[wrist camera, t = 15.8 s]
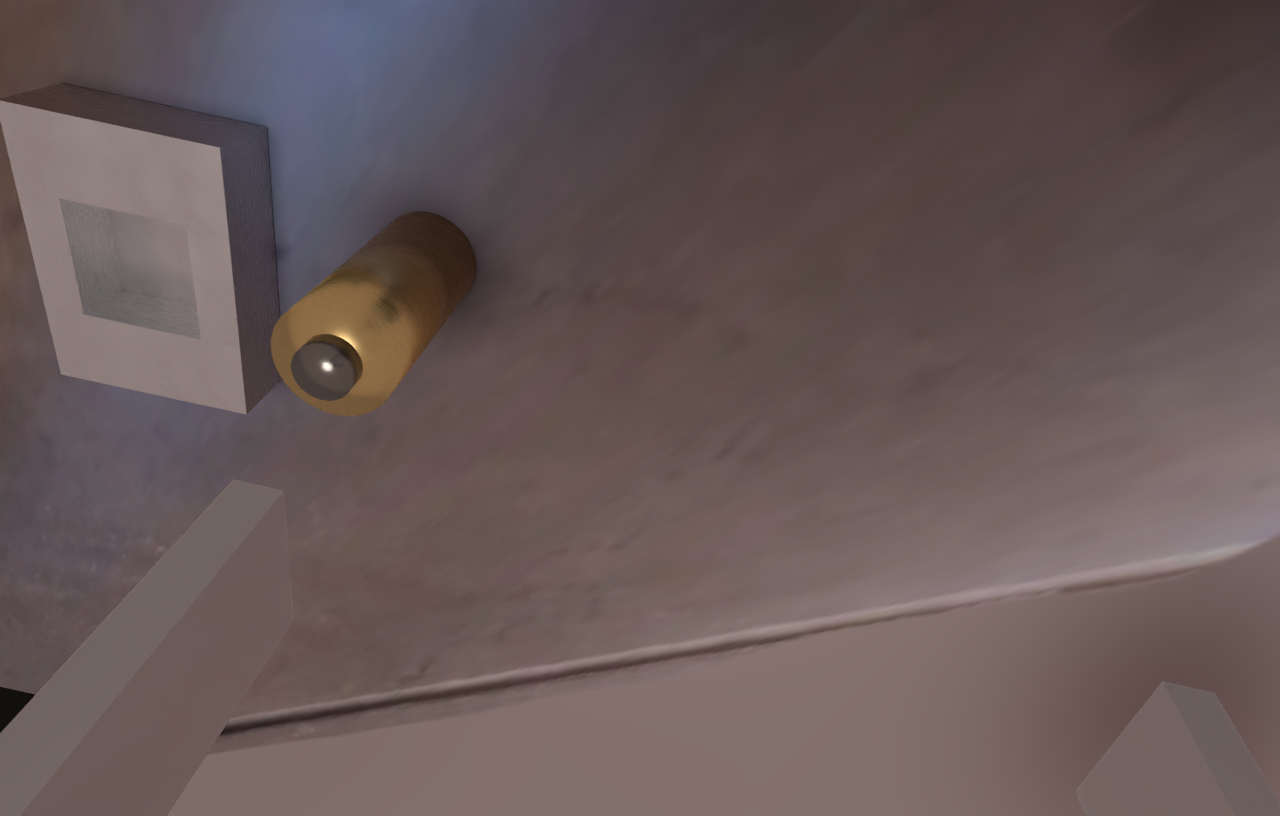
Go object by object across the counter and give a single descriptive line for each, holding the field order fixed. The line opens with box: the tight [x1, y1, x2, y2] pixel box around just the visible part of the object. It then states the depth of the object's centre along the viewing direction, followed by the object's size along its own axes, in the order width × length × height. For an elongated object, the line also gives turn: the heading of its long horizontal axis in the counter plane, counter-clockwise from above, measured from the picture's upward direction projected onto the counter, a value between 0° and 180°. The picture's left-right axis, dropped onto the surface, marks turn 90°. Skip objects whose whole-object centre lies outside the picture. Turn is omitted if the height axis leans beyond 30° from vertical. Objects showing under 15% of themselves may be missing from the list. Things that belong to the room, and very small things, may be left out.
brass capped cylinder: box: [271, 212, 476, 416], centre depth 36 cm, size 5×5×12 cm
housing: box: [0, 83, 282, 414], centre depth 40 cm, size 14×10×4 cm
